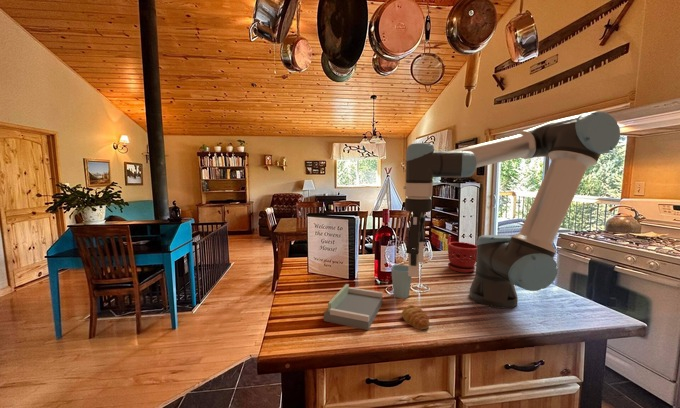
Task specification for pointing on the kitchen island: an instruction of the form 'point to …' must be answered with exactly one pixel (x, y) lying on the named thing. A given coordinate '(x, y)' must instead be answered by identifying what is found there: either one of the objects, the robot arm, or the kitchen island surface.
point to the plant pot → (462, 256)
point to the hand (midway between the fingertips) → (416, 268)
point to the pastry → (415, 317)
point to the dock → (354, 307)
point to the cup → (401, 281)
